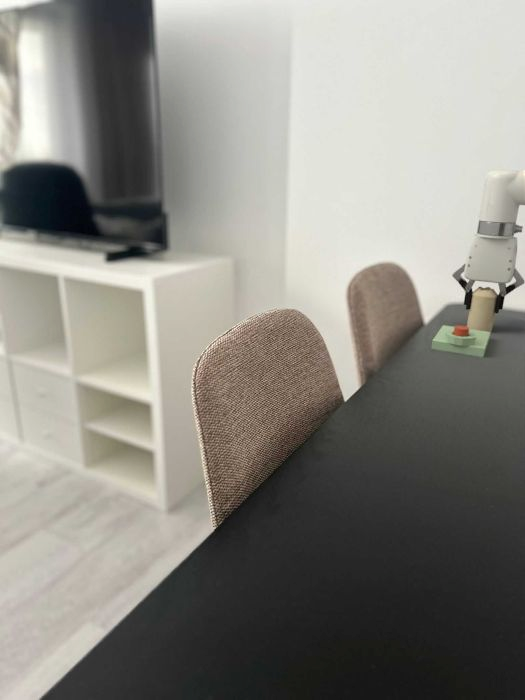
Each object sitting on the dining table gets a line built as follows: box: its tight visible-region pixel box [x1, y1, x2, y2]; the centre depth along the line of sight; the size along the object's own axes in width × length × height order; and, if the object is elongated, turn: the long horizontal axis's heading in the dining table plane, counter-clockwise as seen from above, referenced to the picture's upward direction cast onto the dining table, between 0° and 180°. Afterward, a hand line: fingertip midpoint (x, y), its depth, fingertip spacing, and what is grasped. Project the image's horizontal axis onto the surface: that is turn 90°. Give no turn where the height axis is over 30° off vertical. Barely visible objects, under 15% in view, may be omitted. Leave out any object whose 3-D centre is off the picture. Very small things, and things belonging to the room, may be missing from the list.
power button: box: [453, 325, 469, 337], centre depth 104 cm, size 3×3×2 cm
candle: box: [466, 286, 499, 333], centre depth 118 cm, size 6×6×10 cm
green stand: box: [431, 324, 492, 358], centre depth 108 cm, size 10×14×4 cm
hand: (482, 309), depth 118 cm, fingers closed on candle, 5 cm apart
